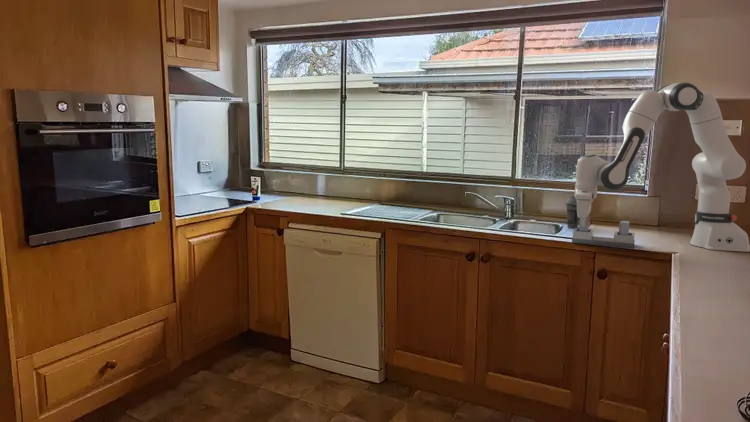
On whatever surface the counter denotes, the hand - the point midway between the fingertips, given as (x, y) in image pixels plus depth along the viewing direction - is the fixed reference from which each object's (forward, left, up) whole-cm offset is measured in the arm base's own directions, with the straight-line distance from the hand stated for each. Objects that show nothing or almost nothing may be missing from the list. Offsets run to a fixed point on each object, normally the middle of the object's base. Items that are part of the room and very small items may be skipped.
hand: (583, 225), depth 229 cm
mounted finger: (-16, 0, -5) cm, 17 cm away
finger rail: (-8, 0, -7) cm, 11 cm away
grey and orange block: (0, 0, -4) cm, 4 cm away
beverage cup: (+8, -32, -8) cm, 34 cm away
